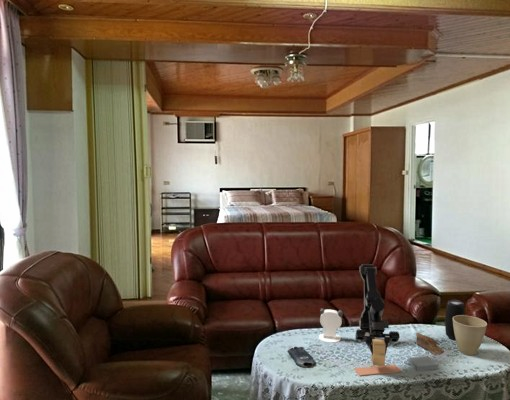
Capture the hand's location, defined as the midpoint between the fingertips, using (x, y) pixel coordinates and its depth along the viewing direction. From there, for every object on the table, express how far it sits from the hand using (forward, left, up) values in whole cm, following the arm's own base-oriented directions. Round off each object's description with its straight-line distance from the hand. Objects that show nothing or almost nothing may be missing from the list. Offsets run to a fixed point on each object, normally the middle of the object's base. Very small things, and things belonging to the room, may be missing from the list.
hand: (378, 354), depth 183 cm
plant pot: (+31, +43, -8) cm, 54 cm away
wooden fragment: (+12, +43, -9) cm, 46 cm away
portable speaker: (+23, +58, -8) cm, 63 cm away
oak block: (-1, +1, -5) cm, 5 cm away
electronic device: (-34, -8, -9) cm, 36 cm away
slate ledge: (+15, +17, -8) cm, 25 cm away
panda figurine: (-31, +22, -8) cm, 39 cm away
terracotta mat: (-1, +1, -8) cm, 8 cm away
